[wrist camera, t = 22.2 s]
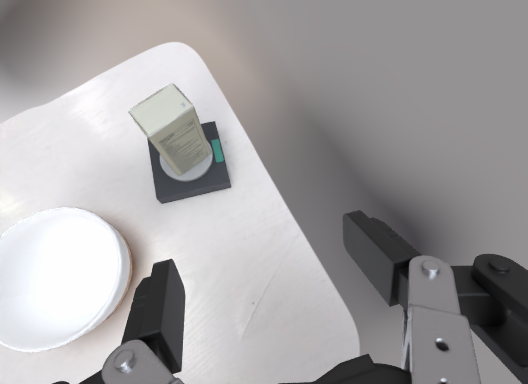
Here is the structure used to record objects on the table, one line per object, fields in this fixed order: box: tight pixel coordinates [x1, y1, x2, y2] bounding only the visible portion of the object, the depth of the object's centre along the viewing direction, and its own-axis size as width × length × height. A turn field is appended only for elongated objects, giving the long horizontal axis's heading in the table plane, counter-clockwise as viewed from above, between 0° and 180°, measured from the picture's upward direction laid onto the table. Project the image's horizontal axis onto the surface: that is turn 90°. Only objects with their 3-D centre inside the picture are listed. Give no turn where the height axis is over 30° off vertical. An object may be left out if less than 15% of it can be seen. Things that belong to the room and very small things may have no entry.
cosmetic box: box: [128, 83, 211, 176], centre depth 35 cm, size 6×4×12 cm
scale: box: [147, 121, 231, 204], centre depth 43 cm, size 11×11×3 cm
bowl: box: [0, 207, 132, 352], centre depth 35 cm, size 16×16×8 cm
